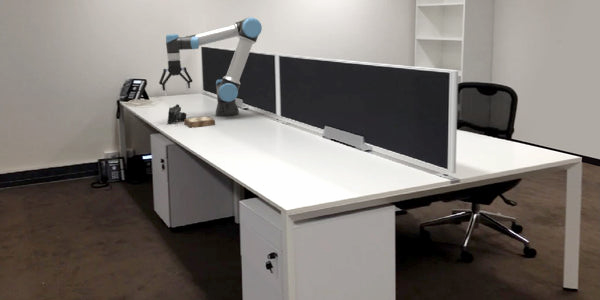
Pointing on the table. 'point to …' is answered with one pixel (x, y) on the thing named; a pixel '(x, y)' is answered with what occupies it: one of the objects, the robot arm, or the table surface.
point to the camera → (175, 114)
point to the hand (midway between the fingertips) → (176, 94)
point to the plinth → (199, 122)
